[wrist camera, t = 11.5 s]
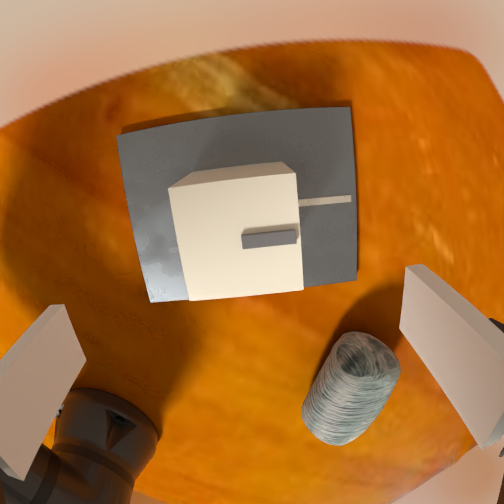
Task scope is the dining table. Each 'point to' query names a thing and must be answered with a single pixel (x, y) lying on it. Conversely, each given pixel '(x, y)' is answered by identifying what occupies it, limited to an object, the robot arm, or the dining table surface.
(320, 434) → the spool
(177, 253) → the gray board
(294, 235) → the white drawer box
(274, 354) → the dining table surface
